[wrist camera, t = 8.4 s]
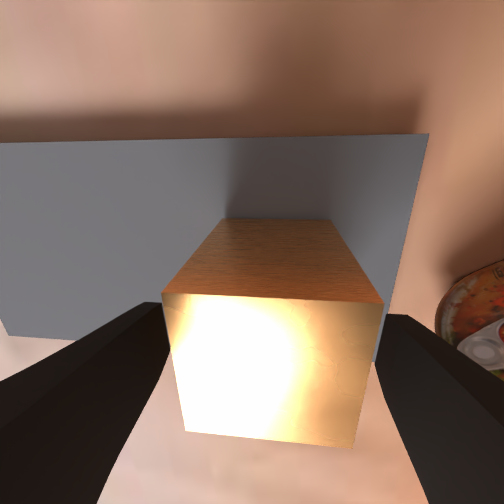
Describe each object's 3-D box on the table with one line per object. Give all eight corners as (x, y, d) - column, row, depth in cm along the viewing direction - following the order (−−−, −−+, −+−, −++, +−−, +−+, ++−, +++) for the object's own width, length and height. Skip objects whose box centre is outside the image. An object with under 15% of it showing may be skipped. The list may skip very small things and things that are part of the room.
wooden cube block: (227, 306, 14) (185, 430, 8) (222, 218, 12) (160, 292, 6) (320, 311, 13) (352, 448, 7) (330, 219, 11) (384, 303, 5)
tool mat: (28, 321, 19) (-65, 386, 14) (-50, 145, 14) (-237, 144, 9) (368, 343, 16) (407, 434, 11) (411, 134, 11) (514, 126, 6)
